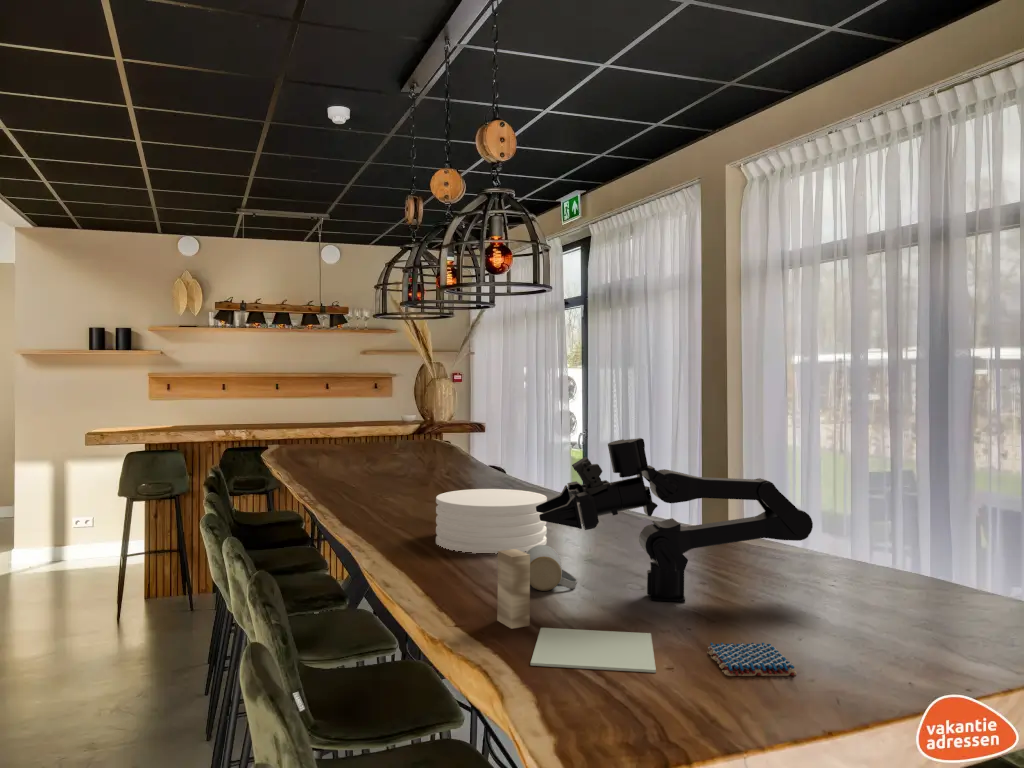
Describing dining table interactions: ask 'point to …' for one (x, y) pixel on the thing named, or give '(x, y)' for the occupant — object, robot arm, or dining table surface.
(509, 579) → the beige rectangular block
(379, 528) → the dining table surface
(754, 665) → the woven mat
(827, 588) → the dining table surface
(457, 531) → the plate stack
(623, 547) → the dining table surface
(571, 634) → the sage placemat
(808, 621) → the dining table surface
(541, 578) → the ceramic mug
